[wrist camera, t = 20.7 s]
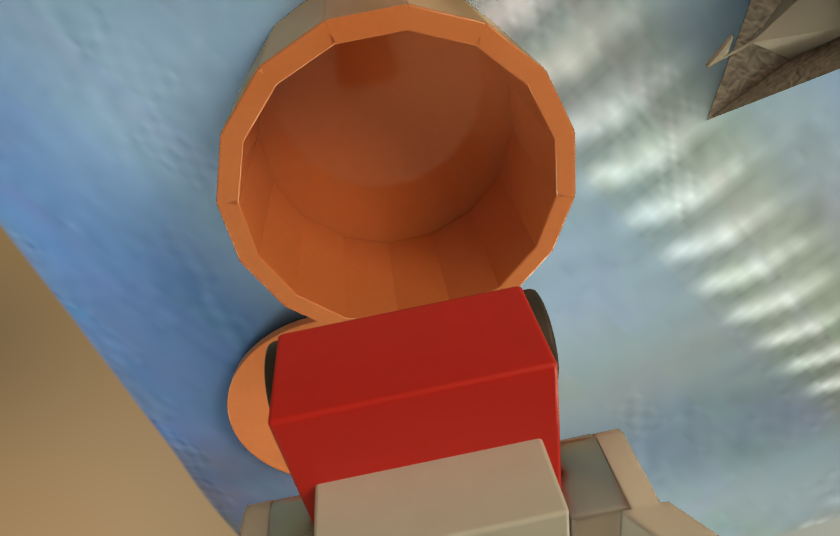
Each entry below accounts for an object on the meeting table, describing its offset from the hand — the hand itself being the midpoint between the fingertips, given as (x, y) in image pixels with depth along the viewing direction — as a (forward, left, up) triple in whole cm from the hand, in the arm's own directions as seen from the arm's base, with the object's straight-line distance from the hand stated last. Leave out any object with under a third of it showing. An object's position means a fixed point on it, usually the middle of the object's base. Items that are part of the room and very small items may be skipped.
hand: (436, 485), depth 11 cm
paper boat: (-2, +19, -21) cm, 28 cm away
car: (0, 0, -2) cm, 2 cm away
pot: (+1, +1, -21) cm, 21 cm away
